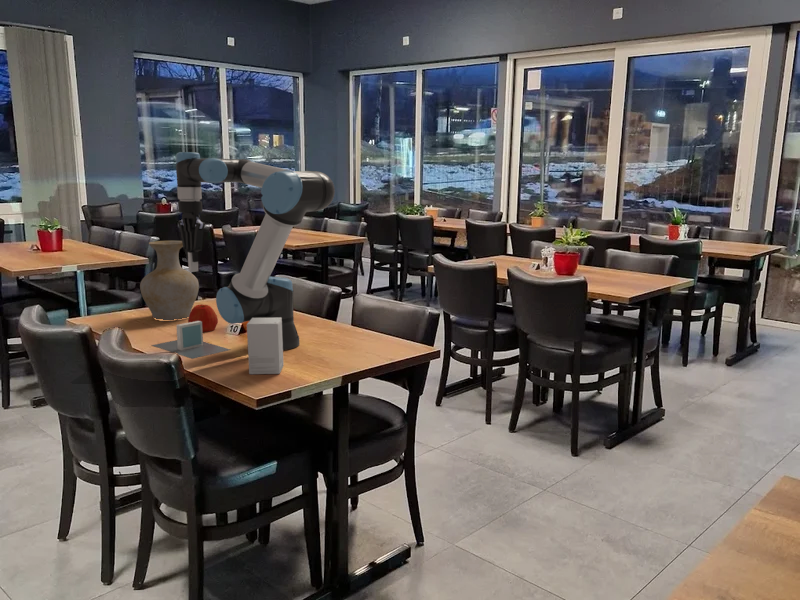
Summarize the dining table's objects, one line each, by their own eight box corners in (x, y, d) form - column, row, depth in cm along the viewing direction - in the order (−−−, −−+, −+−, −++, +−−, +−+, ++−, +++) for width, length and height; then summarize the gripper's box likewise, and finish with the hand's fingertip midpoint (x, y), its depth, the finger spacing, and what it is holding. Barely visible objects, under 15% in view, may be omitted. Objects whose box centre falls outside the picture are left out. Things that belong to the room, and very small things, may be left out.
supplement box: (284, 365, 199) (282, 316, 196) (280, 374, 191) (278, 323, 188) (253, 365, 199) (252, 316, 196) (248, 374, 190) (246, 323, 187)
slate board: (231, 353, 212) (231, 349, 212) (192, 362, 202) (192, 358, 202) (189, 340, 228) (189, 337, 228) (151, 348, 217) (151, 345, 217)
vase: (187, 309, 279) (183, 238, 273) (209, 318, 262) (205, 242, 257) (134, 316, 265) (129, 241, 260) (154, 326, 249) (148, 246, 243)
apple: (223, 331, 242) (222, 302, 240) (204, 337, 233) (203, 308, 231) (201, 328, 246) (200, 300, 244) (182, 334, 237) (180, 305, 235)
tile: (203, 345, 217) (202, 321, 215) (181, 350, 211) (180, 325, 209) (199, 344, 218) (198, 320, 217) (177, 349, 212) (176, 324, 211)
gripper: (211, 200, 216) (214, 272, 221) (189, 199, 225) (193, 268, 229) (190, 201, 211) (194, 274, 215) (169, 199, 219) (173, 270, 224)
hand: (193, 271), depth 222 cm, fingers closed
